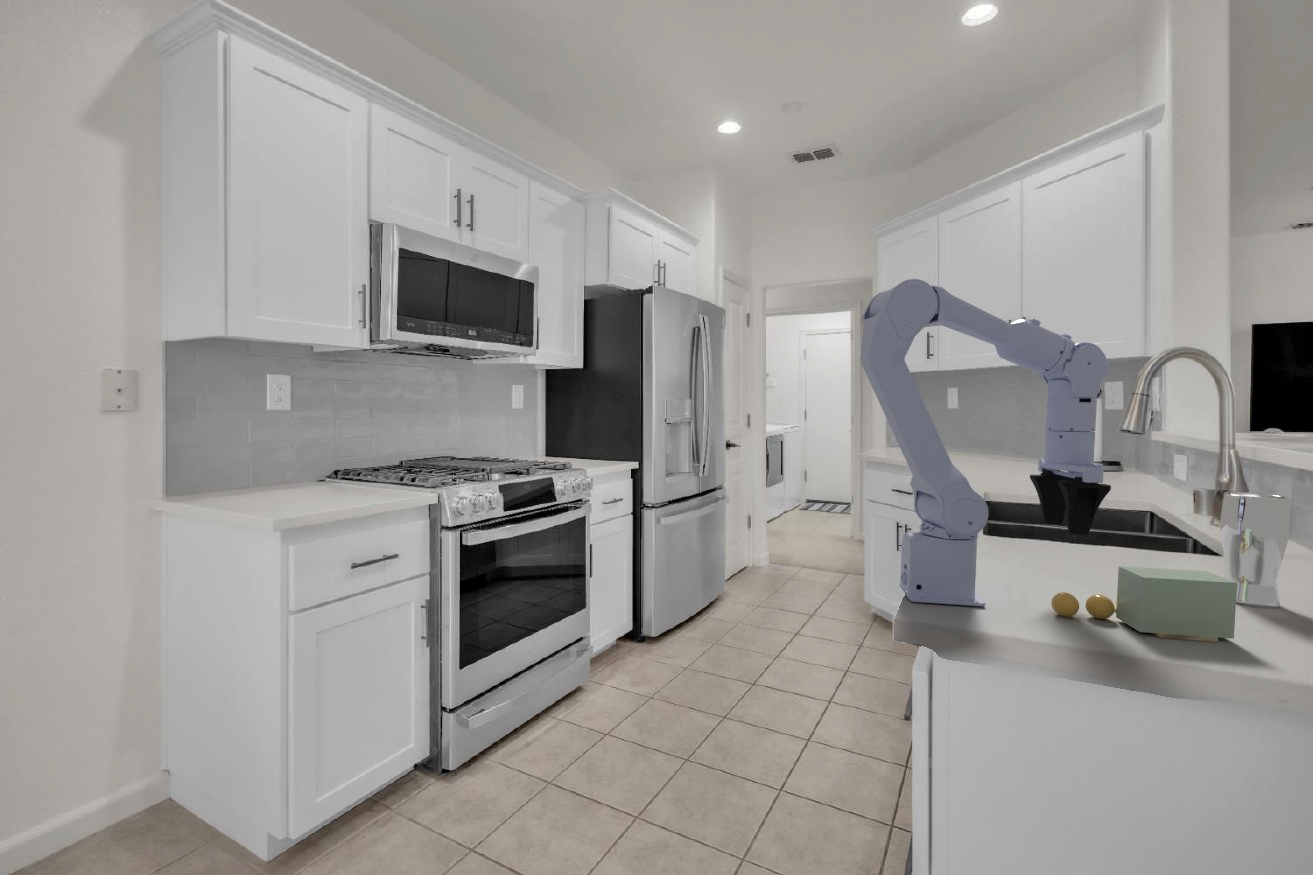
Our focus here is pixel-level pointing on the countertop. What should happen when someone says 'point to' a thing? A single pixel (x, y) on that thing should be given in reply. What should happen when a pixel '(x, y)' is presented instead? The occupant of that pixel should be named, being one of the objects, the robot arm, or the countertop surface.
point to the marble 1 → (1065, 604)
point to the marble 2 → (1100, 606)
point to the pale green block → (1176, 602)
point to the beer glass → (1254, 544)
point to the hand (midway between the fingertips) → (1065, 528)
